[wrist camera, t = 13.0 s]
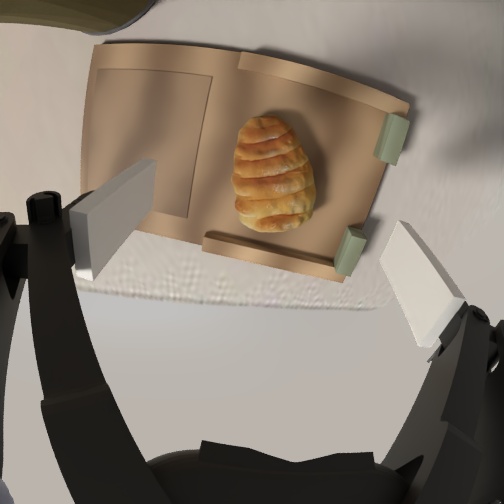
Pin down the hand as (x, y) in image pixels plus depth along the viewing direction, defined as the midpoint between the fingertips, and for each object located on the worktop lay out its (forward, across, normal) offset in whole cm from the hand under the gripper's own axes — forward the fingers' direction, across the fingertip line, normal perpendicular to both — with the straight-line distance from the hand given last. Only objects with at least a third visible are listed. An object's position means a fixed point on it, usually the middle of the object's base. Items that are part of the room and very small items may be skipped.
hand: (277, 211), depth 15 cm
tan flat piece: (+12, -5, 0) cm, 13 cm away
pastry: (+11, 0, -1) cm, 11 cm away
